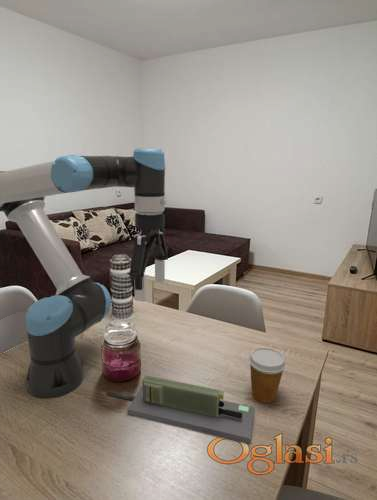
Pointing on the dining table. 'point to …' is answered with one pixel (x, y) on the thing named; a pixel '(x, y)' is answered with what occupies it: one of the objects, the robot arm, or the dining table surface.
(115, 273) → the decorative candle
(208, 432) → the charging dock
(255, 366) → the disposable coffee cup
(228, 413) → the handheld radio
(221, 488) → the dining table surface
